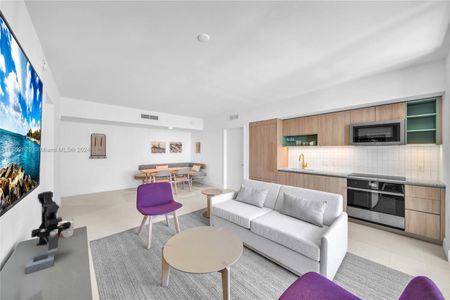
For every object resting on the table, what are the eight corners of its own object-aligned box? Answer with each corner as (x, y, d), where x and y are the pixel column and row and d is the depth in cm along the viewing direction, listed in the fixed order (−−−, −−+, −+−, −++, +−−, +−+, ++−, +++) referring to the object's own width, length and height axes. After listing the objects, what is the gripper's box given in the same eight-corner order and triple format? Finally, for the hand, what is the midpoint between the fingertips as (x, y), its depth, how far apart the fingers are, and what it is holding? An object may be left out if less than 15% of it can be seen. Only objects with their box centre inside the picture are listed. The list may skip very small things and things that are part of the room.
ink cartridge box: (58, 236, 146) (59, 219, 146) (64, 233, 151) (65, 217, 151) (67, 237, 145) (68, 219, 145) (73, 234, 150) (74, 217, 150)
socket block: (28, 262, 112) (28, 256, 112) (53, 255, 121) (54, 249, 121) (24, 274, 102) (24, 267, 102) (53, 265, 110) (53, 259, 110)
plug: (47, 250, 115) (47, 231, 115) (56, 247, 119) (57, 229, 119) (48, 252, 112) (49, 233, 112) (57, 250, 116) (58, 231, 116)
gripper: (32, 217, 111) (33, 240, 104) (70, 210, 125) (73, 230, 118) (30, 226, 115) (31, 248, 109) (67, 218, 130) (70, 237, 123)
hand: (53, 241), depth 115 cm, fingers closed on plug, 4 cm apart
